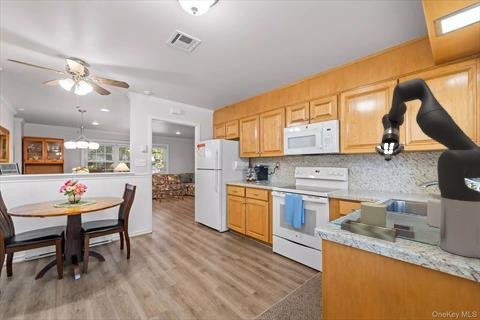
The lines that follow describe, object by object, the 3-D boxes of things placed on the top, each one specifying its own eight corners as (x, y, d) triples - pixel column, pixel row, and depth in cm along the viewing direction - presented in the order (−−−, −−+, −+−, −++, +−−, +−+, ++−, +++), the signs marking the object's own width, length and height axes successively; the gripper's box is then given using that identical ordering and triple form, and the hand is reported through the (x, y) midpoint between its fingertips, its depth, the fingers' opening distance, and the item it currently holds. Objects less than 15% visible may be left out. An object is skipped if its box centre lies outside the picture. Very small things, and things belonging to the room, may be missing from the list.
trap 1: (355, 226, 91) (356, 220, 91) (351, 231, 85) (351, 225, 85) (346, 224, 94) (346, 218, 94) (340, 228, 87) (340, 223, 87)
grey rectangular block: (392, 236, 79) (392, 205, 79) (367, 235, 80) (368, 205, 80) (377, 228, 88) (378, 201, 88) (355, 228, 89) (356, 200, 89)
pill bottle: (453, 230, 87) (454, 195, 87) (428, 226, 92) (428, 193, 92) (449, 225, 94) (450, 193, 94) (425, 222, 99) (426, 191, 99)
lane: (397, 229, 87) (397, 220, 87) (394, 241, 74) (394, 230, 74) (359, 222, 96) (359, 214, 96) (350, 232, 84) (350, 222, 84)
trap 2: (413, 232, 84) (413, 226, 84) (413, 238, 77) (413, 232, 77) (397, 229, 87) (397, 224, 87) (396, 235, 81) (396, 228, 81)
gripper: (375, 133, 114) (371, 154, 105) (405, 131, 105) (404, 154, 96) (376, 143, 118) (372, 165, 109) (406, 142, 109) (404, 165, 100)
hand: (387, 160), depth 102 cm, fingers closed
